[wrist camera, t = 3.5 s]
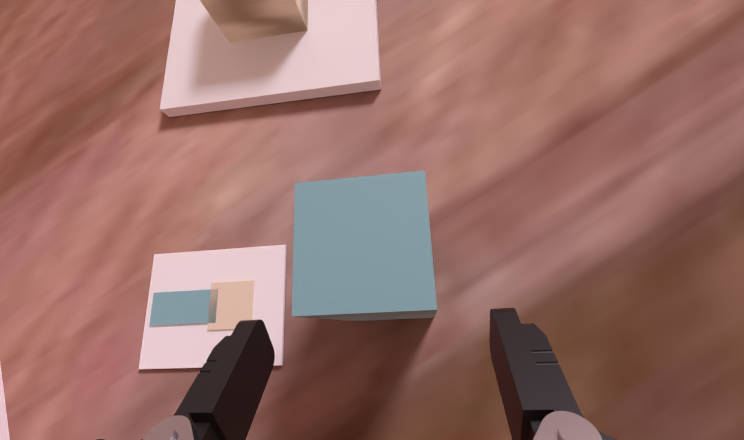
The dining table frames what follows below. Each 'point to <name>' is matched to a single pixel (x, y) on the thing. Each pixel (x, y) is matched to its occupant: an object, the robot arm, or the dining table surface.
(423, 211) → the tall block
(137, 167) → the dining table surface
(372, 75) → the build board
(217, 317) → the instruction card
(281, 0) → the lower block
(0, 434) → the wide white block
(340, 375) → the dining table surface
